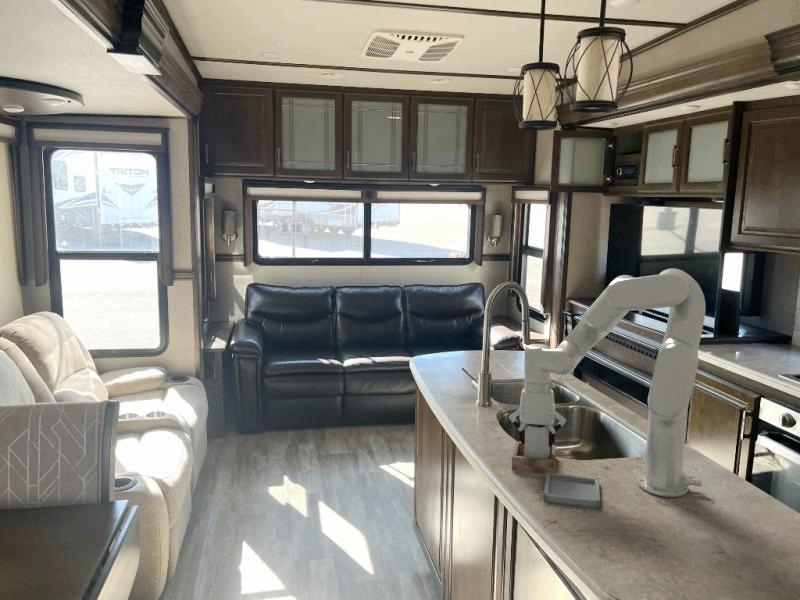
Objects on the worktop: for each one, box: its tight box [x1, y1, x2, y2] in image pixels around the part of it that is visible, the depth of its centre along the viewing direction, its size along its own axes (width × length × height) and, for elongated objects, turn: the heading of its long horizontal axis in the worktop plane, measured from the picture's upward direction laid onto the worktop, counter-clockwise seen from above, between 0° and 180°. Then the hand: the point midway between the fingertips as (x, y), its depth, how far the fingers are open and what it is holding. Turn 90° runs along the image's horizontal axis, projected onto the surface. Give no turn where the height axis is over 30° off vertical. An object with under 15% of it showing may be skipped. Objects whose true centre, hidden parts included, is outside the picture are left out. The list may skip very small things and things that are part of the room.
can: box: [523, 424, 551, 460], centre depth 184 cm, size 8×8×12 cm
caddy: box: [511, 441, 557, 475], centre depth 185 cm, size 12×12×4 cm
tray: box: [543, 472, 601, 509], centre depth 167 cm, size 14×14×2 cm
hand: (536, 443), depth 184 cm, fingers closed on can, 7 cm apart
